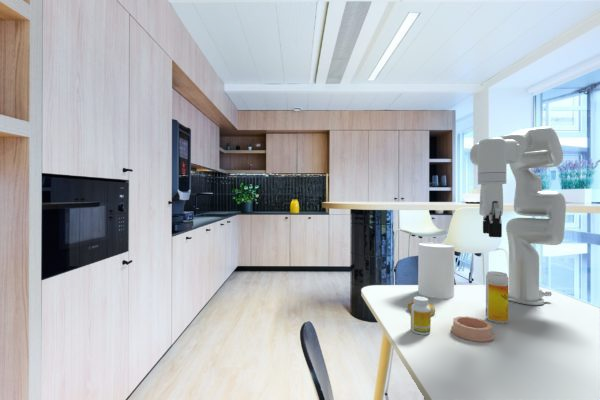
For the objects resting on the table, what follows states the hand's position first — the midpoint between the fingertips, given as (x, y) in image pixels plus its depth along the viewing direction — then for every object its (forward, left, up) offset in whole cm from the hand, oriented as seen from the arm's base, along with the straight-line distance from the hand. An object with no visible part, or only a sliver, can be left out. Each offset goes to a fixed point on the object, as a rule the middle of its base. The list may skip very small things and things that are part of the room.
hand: (491, 235), depth 96 cm
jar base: (+10, +6, -28) cm, 30 cm away
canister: (+2, -33, -28) cm, 43 cm away
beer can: (-4, -4, -28) cm, 28 cm away
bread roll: (+17, -12, -28) cm, 35 cm away
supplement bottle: (+24, +4, -28) cm, 37 cm away
